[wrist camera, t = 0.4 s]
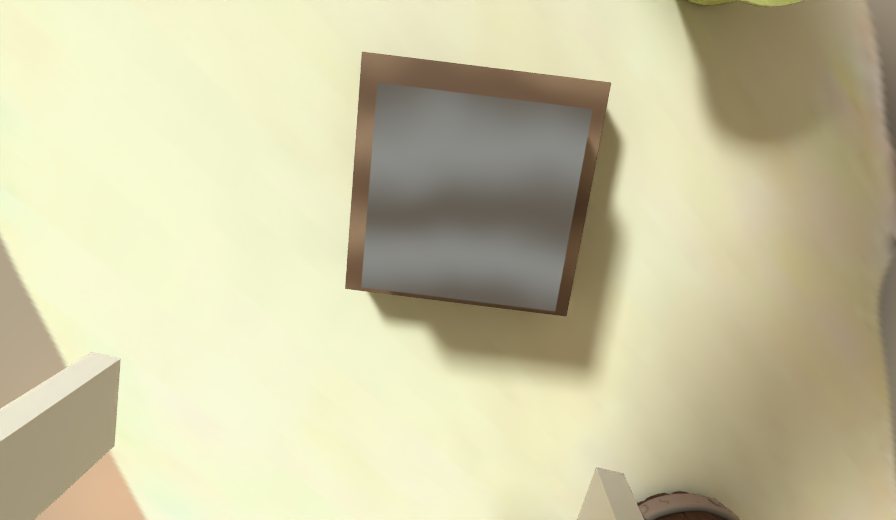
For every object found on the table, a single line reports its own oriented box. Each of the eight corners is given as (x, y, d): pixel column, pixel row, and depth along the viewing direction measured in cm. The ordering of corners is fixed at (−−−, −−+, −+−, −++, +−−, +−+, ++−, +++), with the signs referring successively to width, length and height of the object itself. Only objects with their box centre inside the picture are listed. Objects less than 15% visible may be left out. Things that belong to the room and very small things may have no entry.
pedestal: (373, 59, 37) (343, 39, 28) (595, 86, 37) (636, 75, 28) (356, 272, 41) (326, 313, 32) (556, 297, 41) (581, 345, 32)
